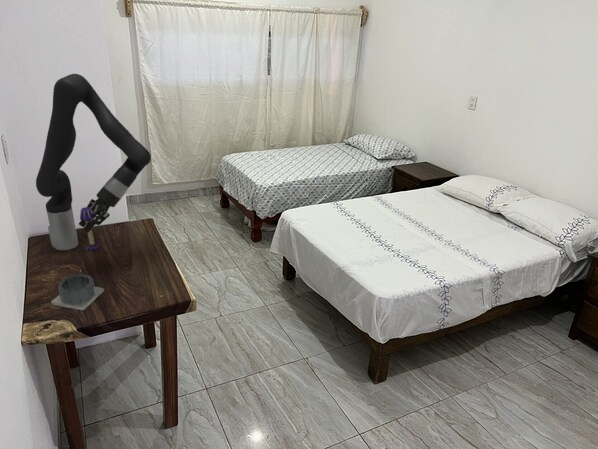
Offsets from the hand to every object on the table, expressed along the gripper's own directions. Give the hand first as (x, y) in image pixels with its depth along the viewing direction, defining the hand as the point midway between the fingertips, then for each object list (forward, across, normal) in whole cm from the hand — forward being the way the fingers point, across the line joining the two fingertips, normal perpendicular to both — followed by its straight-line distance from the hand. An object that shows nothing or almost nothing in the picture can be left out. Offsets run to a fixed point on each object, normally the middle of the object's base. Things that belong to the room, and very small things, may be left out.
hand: (83, 228), depth 158 cm
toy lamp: (+5, 0, +8) cm, 10 cm away
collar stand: (+20, +13, +8) cm, 25 cm away
